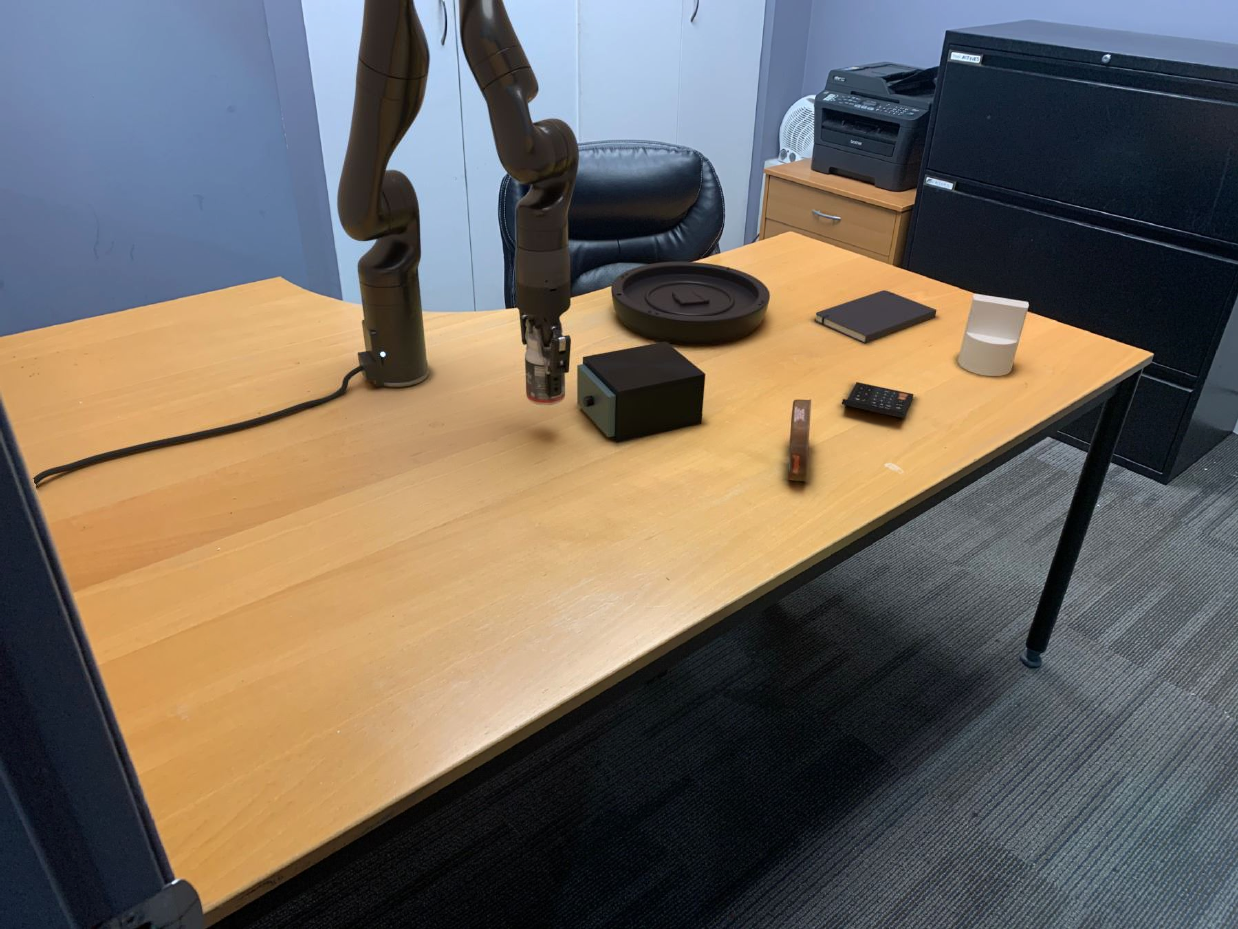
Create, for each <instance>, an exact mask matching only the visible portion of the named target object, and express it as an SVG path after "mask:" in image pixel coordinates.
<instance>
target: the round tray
mask: <svg viewBox="0 0 1238 929" xmlns="http://www.w3.org/2000/svg"><path fill="white" fill-rule="evenodd" d="M610 288H611V289H610V292H611V299H612V305H613V309H614V310H615V313H616V316H617V317H618V318H619V320H620V321H621V322H622V324H624V326H625V327H626V328H627V329H629V330H631V331H632V332H633V333H636V334H638V335H640V336H642V337H644V338H648V339H651V340H653V341H657V342H665V341H666V342H667V343H668V344H675V345H681V346H682V345H683V346H711V345H718V344H724V343H730V342H734V341H736V340H739V339H742V338H743V337H746V336H748V335H749V334H751V333H752V332H753V331H754V330H756V329H757V328H758V327H759V325H760V324H761V323H762V321H763V319H764V318H765V315H766V312H767V309H768V307H769V303H770V298H771V294H770V291H769V289H768V287H767V285H765V283H764V282H762V281H761V280H760V279H759V278H757V277H756V276H753V275H751V274H749V273H747V272H744V271H741V270H739V269H735V268H733V267H730V266H724V265H719V264H714V263H708V262H707V263H706V262H697V261H664V262H663V261H662V262H656V263H649V264H645V265H639V266H636V267H633V268H631V269H628V270H625V271H624V272H622V273H621V274H619V275H618V276H616V277H615V279H614V280H613V282H612V283H611V287H610Z"/></svg>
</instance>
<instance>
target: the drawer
mask: <svg viewBox="0 0 1238 929" xmlns="http://www.w3.org/2000/svg"><path fill="white" fill-rule="evenodd" d="M576 385H577V386H576V404H577V405H578V406H579V408H580V409H581V410H582V411H583V412H584V413H585V414H586V415H587V416H588V418H590V419H591V420H592V422H593V423H594V424H595V425H596V426H597V427H598V428H599V429H600V431H602V433H603V434H604V435H605V436H606V437H607V438H612V437H611V436H615V410H616V394H615V393H614V392H613V391H612V390H611V389H610V388H609V387H608V386H607V385H606V384H605V383H604V382H603V381H602V380H601V379H600V378H599V377H598V376H597V375H596V374H595V373H593V372H592V371H591V370H590V369H589V368H588V367H587V366H586V365H585V364H583V363H581V364H577V365H576Z"/></svg>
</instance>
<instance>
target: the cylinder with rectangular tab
mask: <svg viewBox="0 0 1238 929" xmlns="http://www.w3.org/2000/svg"><path fill="white" fill-rule="evenodd" d="M1029 306H1030V304H1029V302H1028V301H1024V300H1018V299H1012V298H1005V297H998V296H992V295H987V294H981V293H980V294H979V293H974V294H973V296H972V299H971V304H970V308H969V313H968V316H967V321H966V324H965V325H966V326H965V329H964V333H963V336H962V337H963V338H962V342H961V345H960V349H959V354H958V358H957V363H958V365H959V366H960V367H961V368H963V369H964V370H966V371H967V372H970V373H972V374H976V375H979V376H980V375H981V376H987V377H1001V376H1002V377H1003V376H1005V375H1008V374H1009V373H1011V371H1012V368H1013V365H1014V361H1015V357H1016V354H1017V350H1018V346H1019V342H1020V339H1021V336H1022V332H1023V328H1024V325H1025V321H1026V317H1027V314H1028V310H1029Z"/></svg>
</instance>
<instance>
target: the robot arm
mask: <svg viewBox="0 0 1238 929" xmlns="http://www.w3.org/2000/svg"><path fill="white" fill-rule="evenodd" d="M363 1H364V2H363V13H362V14H363V15H362V26H361V33H360V41H359V48H358V56H357V65H356V73H355V88H354V100H353V106H352V115H351V121H350V129H349V136H348V141H347V146H346V151H345V157H344V159H343V160H344V161H343V165H342V169H341V173H340V178H339V181H338V182H339V183H338V187H337V193H336V194H337V196H336V207H337V215H338V220H339V223H340V225H341V227H342V230H344V233H345V234H346V235H347V236H348V237H349V238H351V239H353V240H355V241H357V242H370V241H375V242H374V244H373V245H372V246H371V248H370V249H368V250H367V251H366V252H365V253H364V254H363V255H362V256H361V257H360V259H359V260H358V261H357V267H356V268H357V276H358V282H359V291H360V297H361V304H362V305H361V306H362V313H363V319H362V321H361V328H362V334H363V342H364V348H365V349H364V350H365V351H358V352H357V358H358V366H356V367H355V368H353V369H351V370H350V371H349V372H347V373H346V374H345V376H344V377H343V379H342V382H341V387H340V388H338V390H336V391H335V392H333V393H332V394H330V395H328V396H325V397H322V398H317V399H312V400H307V401H304V402H300V403H298V404H296V405H292V406H290V407H286V408H284V409H280V410H278V411H275V412H272V413H268V414H265V415H262V416H258V417H256V418H252V419H248V420H244V421H240V422H236V423H232V424H227V425H224V426H218V427H215V428H210V429H204V430H200V431H197V432H191V433H187V434H186V433H185V434H182V435H177V436H173V437H167V438H162V439H157V440H152V441H149V442H144V443H140V444H135V445H131V446H127V447H122V448H119V449H114V450H111V451H106V452H103V453H102V452H101V453H98V454H96V455H91V456H88V457H85V458H83V459H79V460H76V461H73V462H70V463H67V464H63V465H59V466H55V467H51V468H48V469H45V470H43V471H41V472H40V473H38V474H36V475H35V476H33V477H32V479H34V483H35V484H36V486H37V485H38V484H39V483H40V482H41V481H43V480H44V479H46V478H48V477H52V476H53V475H54V476H55V475H57V474H62V473H64V472H69V471H73V470H75V469H79V468H82V467H84V466H87V465H89V464H91V465H92V464H93V463H96V462H97V463H98V462H101V461H105V460H108V459H112V458H117V457H121V456H125V455H128V454H132V453H137V452H140V451H145V450H149V449H153V448H158V447H163V446H168V445H173V444H178V443H183V442H187V441H193V440H197V439H201V438H205V437H210V436H215V435H218V434H223V433H228V432H233V431H236V430H241V429H244V428H248V427H252V426H256V425H260V424H262V423H266V422H268V421H272V420H275V419H278V418H281V417H284V416H287V415H290V414H292V413H295V412H299V411H301V410H304V409H307V408H311V407H315V406H319V405H322V404H326V403H328V402H330V401H332V400H335V399H337V398H339V397H340V396H342V395H343V394H344V393H345V392H346V391H347V389H348V386H349V382H350V381H351V379H352V378H353V377H355V376H356V375H357V374H359V373H362V375H363V377H364V379H365V381H366V382H367V383H368V382H373V384H374V385H375V386H376V388H380V387H388V388H404V387H405V388H406V387H410V386H414V385H417V384H419V383H421V382H423V381H425V379H427V378H428V376H429V366H428V358H427V347H426V336H425V327H424V318H423V317H424V316H423V307H422V296H421V286H420V275H419V274H420V273H419V266H420V262H421V259H422V241H421V240H422V239H421V217H420V216H421V214H420V204H419V199H418V196H417V192H416V189H415V187H414V185H413V183H412V181H411V180H410V178H409V177H408V176H407V175H406V174H405V173H403V172H402V171H401V170H397V169H387V167H388V164H389V162H390V160H391V158H392V155H393V153H394V152H395V151H396V149H397V147H398V146H399V144H400V143H401V142H402V140H403V138H404V137H405V136H406V134H407V132H408V131H409V130H410V128H411V127H412V125H413V124H414V122H415V120H416V118H417V117H418V116H419V113H420V112H421V109H422V106H423V103H424V100H425V95H426V90H427V84H428V78H429V72H430V64H431V52H430V46H429V42H428V38H427V36H426V32H425V29H424V27H423V25H422V22H421V20H420V17H419V14H418V12H417V8H416V5H415V1H414V0H363ZM458 25H459V39H460V44H461V47H462V52H463V55H464V58H465V61H466V64H467V66H468V68H469V70H470V72H471V74H472V76H473V78H474V80H475V82H476V84H477V87H478V89H479V91H480V93H481V95H482V98H483V99H484V101H485V103H486V107H487V112H488V119H489V123H490V128H491V131H492V137H493V141H494V146H495V150H496V151H495V152H496V154H497V157H498V160H499V163H500V164H501V167H502V168H503V169H504V171H505V172H506V174H507V175H508V176H509V177H510V178H511V179H512V180H513V181H515V182H517V183H518V184H520V185H524V186H525V185H526V186H530V189H529V190H528V192H527V193H526V194H525V195H524V196H523V197H522V198H521V199H520V200H519V201H518V202H517V203H516V205H515V209H514V237H515V251H514V281H515V282H514V283H515V306H516V308H517V310H518V314H519V315H518V316H519V324H520V325H519V326H520V335H521V343H522V345H523V346H526V347H525V351H526V350H527V349H528V348H529V347H530V346H529V345H528V334H532V333H533V334H534V337H535V338H536V341H537V347H538V352H539V356H540V357H541V358H543V361H544V367H545V392H546V395H547V396H548V397H553V396H558V395H560V394H561V392H562V384H561V374H562V373H565V374H569V372H570V360H571V349H572V348H571V347H572V338H571V335H569V334H565V335H563V332H564V331H563V325H562V322H561V317H562V315H563V314H564V313H566V312H567V311H568V310H570V308H571V304H572V302H571V300H572V298H571V295H572V294H571V292H572V291H571V255H570V254H571V253H570V248H569V209H570V205H571V201H572V198H573V194H574V189H575V184H576V180H577V176H578V170H579V163H580V162H579V161H580V149H579V143H578V139H577V137H576V134H575V132H574V131H573V129H572V128H571V127H570V126H569V124H568V123H567V122H566V121H565V120H562V119H561V118H560V119H559V118H555V117H553V118H544V119H542V120H538V121H537V120H536V121H535V122H533V119H532V117H531V116H532V115H531V112H530V108H529V104H530V103H532V101H533V100H535V98H536V97H537V95H538V94H539V90H540V87H539V81H538V79H537V76H536V74H535V72H534V69H533V68H532V65H531V63H530V62H529V59H528V57H527V55H526V53H525V51H524V48H523V46H522V44H521V42H520V40H519V37H518V35H517V33H516V31H515V29H514V26H513V24H512V22H511V20H510V16H509V13H508V11H507V8H506V6H505V3H504V0H458ZM544 347H551V351H545V350H544ZM549 357H550V361H549Z"/></svg>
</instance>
